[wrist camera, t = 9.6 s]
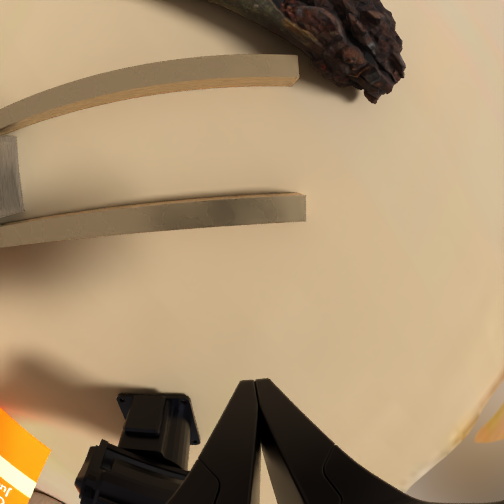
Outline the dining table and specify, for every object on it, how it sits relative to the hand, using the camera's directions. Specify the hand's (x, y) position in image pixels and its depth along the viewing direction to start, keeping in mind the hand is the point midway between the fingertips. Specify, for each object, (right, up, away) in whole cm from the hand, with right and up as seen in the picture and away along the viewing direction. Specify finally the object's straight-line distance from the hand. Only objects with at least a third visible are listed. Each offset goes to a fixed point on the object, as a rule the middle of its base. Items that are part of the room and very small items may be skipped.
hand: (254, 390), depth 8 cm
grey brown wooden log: (+2, +20, +7) cm, 22 cm away
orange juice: (-31, -20, +16) cm, 40 cm away
